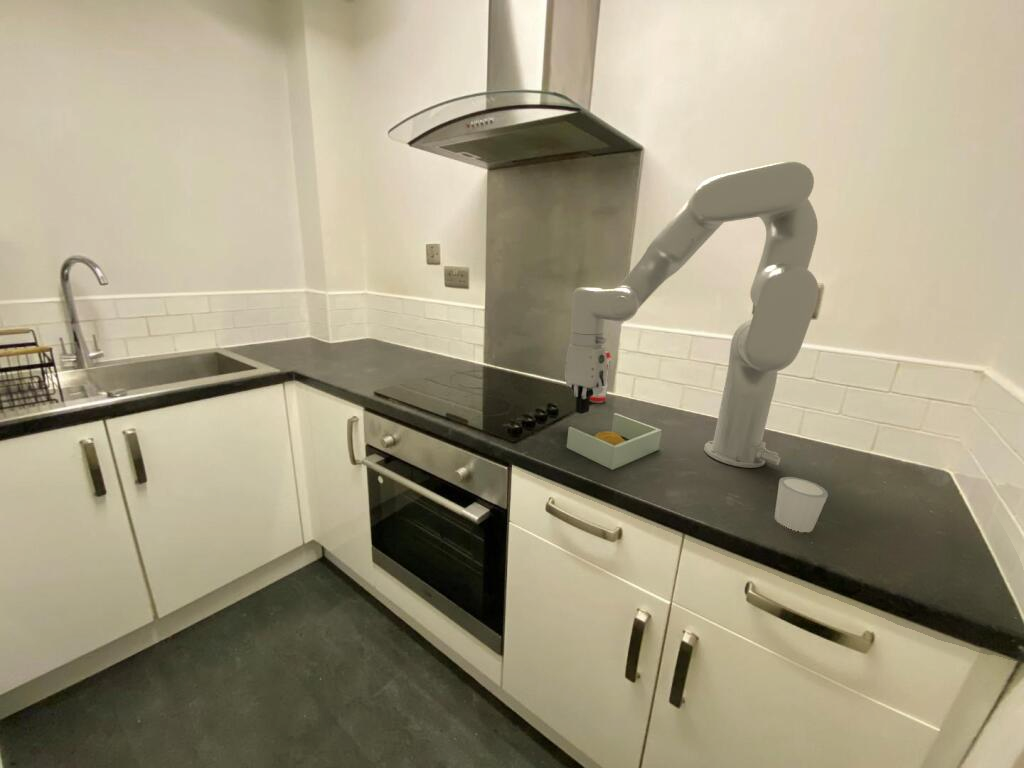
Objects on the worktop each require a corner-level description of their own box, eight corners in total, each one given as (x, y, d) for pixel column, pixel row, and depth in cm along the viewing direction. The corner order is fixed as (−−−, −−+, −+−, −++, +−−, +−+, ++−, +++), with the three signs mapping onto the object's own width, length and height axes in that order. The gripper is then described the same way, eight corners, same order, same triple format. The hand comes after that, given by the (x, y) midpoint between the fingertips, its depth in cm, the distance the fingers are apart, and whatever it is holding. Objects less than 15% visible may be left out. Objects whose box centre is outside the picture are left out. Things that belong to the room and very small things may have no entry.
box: (658, 449, 98) (661, 429, 96) (612, 469, 87) (615, 447, 85) (613, 431, 107) (615, 413, 106) (566, 447, 96) (568, 427, 95)
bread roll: (617, 441, 102) (620, 426, 101) (633, 458, 93) (635, 441, 92) (585, 442, 100) (587, 426, 99) (598, 459, 92) (600, 442, 91)
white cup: (798, 511, 75) (808, 476, 73) (827, 535, 69) (839, 497, 67) (761, 510, 75) (770, 475, 73) (787, 534, 68) (797, 496, 66)
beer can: (605, 404, 128) (612, 353, 123) (585, 402, 129) (590, 351, 124) (605, 398, 134) (611, 349, 129) (585, 396, 135) (591, 347, 130)
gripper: (621, 342, 97) (615, 416, 102) (573, 334, 108) (569, 402, 113) (601, 346, 93) (596, 423, 98) (553, 337, 104) (550, 407, 109)
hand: (582, 411), depth 105 cm, fingers closed
